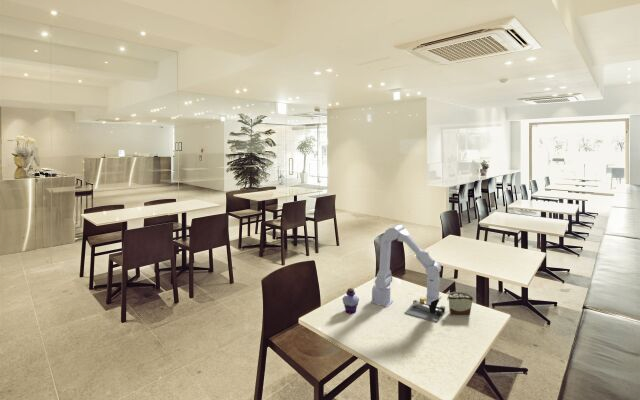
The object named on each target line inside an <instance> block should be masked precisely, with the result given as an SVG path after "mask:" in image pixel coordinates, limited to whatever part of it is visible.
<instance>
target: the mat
mask: <svg viewBox="0 0 640 400" xmlns="http://www.w3.org/2000/svg"><path fill="white" fill-rule="evenodd" d="M404 314H405V315H408V316H411V317H415V318H419V319H423V320H427V321H429V322H434V323H438V322H439V321H440V319H441V317H440V316H437V315H435V314H432V313H429V312H426V311H423V310H420V309H418V308H413V303H411V305H410V306H409V307H408V308H407V309H406V310H405V312H404ZM443 314H444V313H442V315H443Z"/></svg>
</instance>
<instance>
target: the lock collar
mask: <svg viewBox="0 0 640 400" xmlns="http://www.w3.org/2000/svg"><path fill="white" fill-rule="evenodd" d="M426 299H427V297H426V296H420V298H419V301H420V303H423V304H424V303H425V302H426Z"/></svg>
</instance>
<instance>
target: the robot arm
mask: <svg viewBox="0 0 640 400" xmlns="http://www.w3.org/2000/svg"><path fill="white" fill-rule="evenodd" d="M396 240H397V242H401V243H403V242H404V243H405V244H406V245H407V246H408V247H409V248H410V249H411V250H412V251H413V252H414V254H415V258H416V260H418V262H419V263H420V264H421V266H423V267H424V269H425V273H426V275H427V278H426V281H427V282H426V296H425V297H426V304H427V305H429V309H430V313H433V314H434V313H435V311H436V307H437V305H438V303H439V302H440V300H441V299H442V295H441V296H440V272H441V271H442V264H440V262H438V261H436V259H433V258H432V257H431V255H430V253H429V252H428V251H426V250H425V249H421V248H420V246H419V245H418V244H417V242H416V241H415V239H414V238H413V237H412V236H411V235H410V233H409V231H408V229H406V228H405V226H404V225H402V224H401V223H397V224H395V225H393V226H392V227H389V228H388V229H386V230H385V231H384V233H383V235H381V238H380V247H379V248H380V250H379V252H380V253H379V269H378V271H377V274H376V278H375V280H374V284H373V287H372V290H371V301H370V302H371V303H372V304H375V305H380V306H383V307H387V308H388V307H389V306H390V305H391V304H392V303H393V302H394V300H393V299H391V283H392V282H393V275H392V270H391V269H390V267H391V253H392V252H391V250H392V248H391V247H392V242H393V241H396Z"/></svg>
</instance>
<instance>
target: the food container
mask: <svg viewBox="0 0 640 400" xmlns="http://www.w3.org/2000/svg"><path fill="white" fill-rule="evenodd" d="M447 301H448V307H449V316H456V317H458V316H461V317H464V316H466V317H470V315H471V310H472V306H473V305H472V304H473V302H474V297H473V295H471V294H469V293H466V292H463V291H452V292H449V293H448V295H447Z"/></svg>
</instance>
